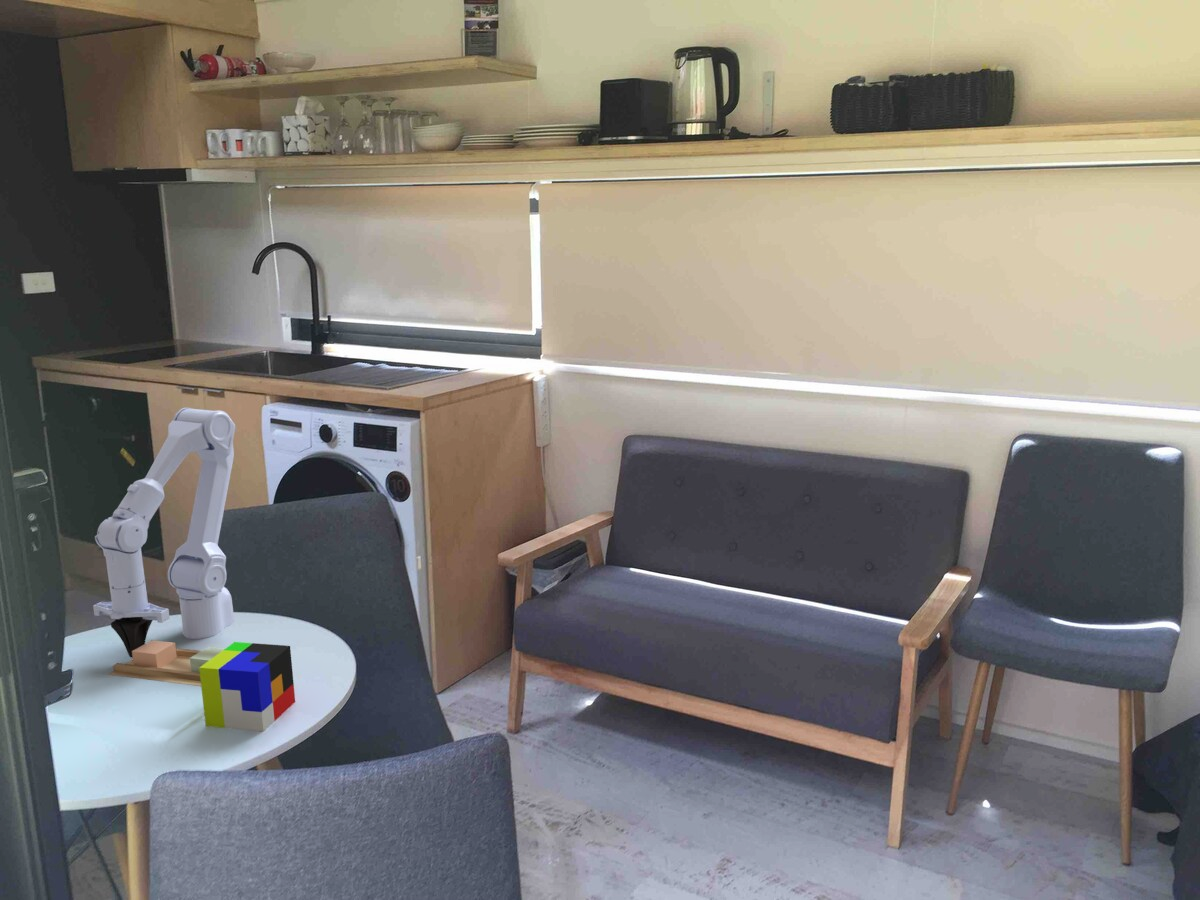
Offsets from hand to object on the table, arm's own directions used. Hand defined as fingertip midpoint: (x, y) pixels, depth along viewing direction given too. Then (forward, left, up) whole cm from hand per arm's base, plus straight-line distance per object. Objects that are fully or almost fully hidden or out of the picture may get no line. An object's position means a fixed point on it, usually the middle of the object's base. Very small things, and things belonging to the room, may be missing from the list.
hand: (136, 655), depth 178 cm
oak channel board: (0, +12, -2) cm, 12 cm away
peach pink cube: (0, +4, -1) cm, 4 cm away
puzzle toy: (+11, +31, -2) cm, 33 cm away
